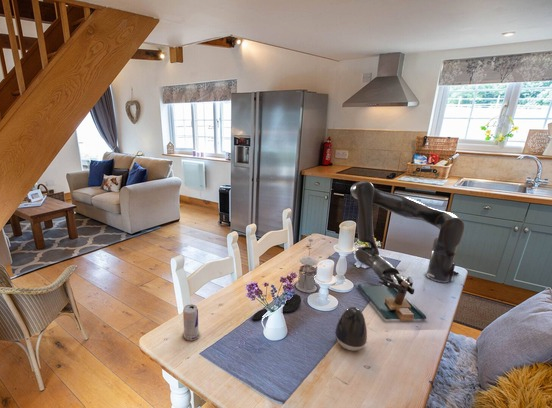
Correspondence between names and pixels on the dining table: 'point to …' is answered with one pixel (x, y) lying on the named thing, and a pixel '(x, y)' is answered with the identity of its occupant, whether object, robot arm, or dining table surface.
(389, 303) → the wooden dowel stand
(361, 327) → the black egg shaped diffuser
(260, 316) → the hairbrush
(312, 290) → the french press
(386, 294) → the tray
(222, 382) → the dining table surface
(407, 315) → the cork chunk
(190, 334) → the energy drink
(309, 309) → the dining table surface
